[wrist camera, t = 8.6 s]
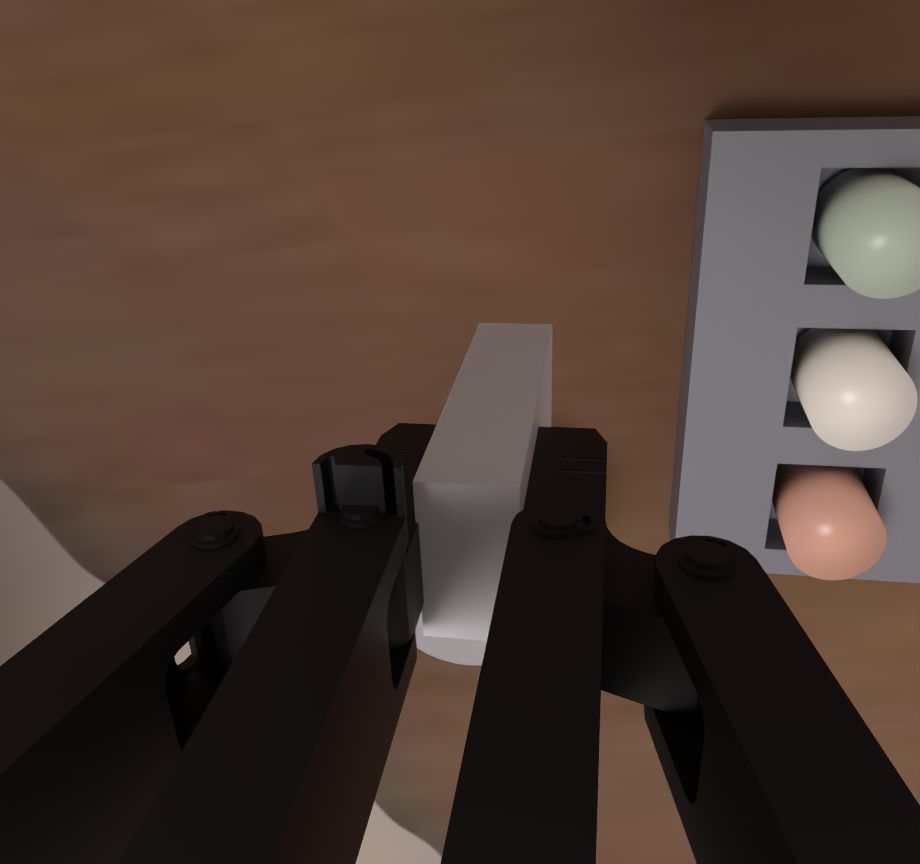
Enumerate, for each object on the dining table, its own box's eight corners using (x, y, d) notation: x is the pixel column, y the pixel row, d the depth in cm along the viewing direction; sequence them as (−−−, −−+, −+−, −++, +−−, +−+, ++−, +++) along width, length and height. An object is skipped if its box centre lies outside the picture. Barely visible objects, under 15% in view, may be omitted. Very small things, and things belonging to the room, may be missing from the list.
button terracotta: (775, 448, 44) (793, 498, 40) (866, 452, 43) (895, 504, 39) (765, 521, 46) (780, 577, 42) (852, 526, 45) (877, 583, 41)
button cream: (794, 317, 41) (815, 357, 37) (893, 320, 40) (927, 359, 36) (782, 402, 43) (801, 448, 39) (876, 405, 42) (906, 453, 38)
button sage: (817, 166, 38) (843, 188, 33) (924, 165, 37) (965, 188, 33) (802, 264, 40) (825, 298, 35) (904, 265, 39) (940, 299, 35)
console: (704, 119, 39) (712, 131, 36) (1039, 114, 37) (1083, 126, 34) (668, 526, 49) (672, 566, 46) (931, 541, 47) (957, 585, 44)
